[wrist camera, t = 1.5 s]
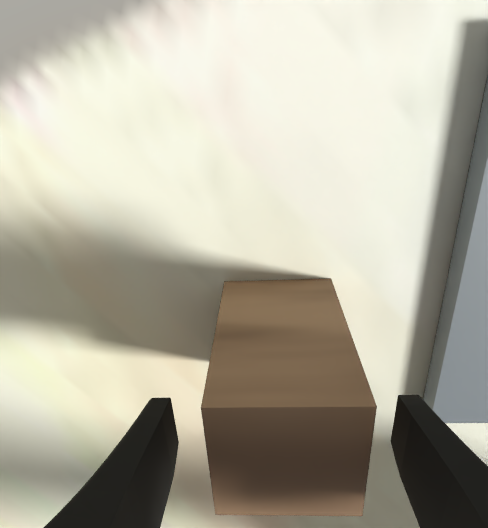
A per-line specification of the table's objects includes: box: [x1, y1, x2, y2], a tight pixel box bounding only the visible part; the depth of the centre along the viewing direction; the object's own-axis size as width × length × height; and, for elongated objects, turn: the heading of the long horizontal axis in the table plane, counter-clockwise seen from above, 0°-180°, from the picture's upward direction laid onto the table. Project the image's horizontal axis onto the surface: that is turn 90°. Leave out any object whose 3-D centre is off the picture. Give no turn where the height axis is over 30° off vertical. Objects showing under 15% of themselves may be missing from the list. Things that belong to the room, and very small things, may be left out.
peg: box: [201, 279, 377, 516], centre depth 14 cm, size 4×4×7 cm
